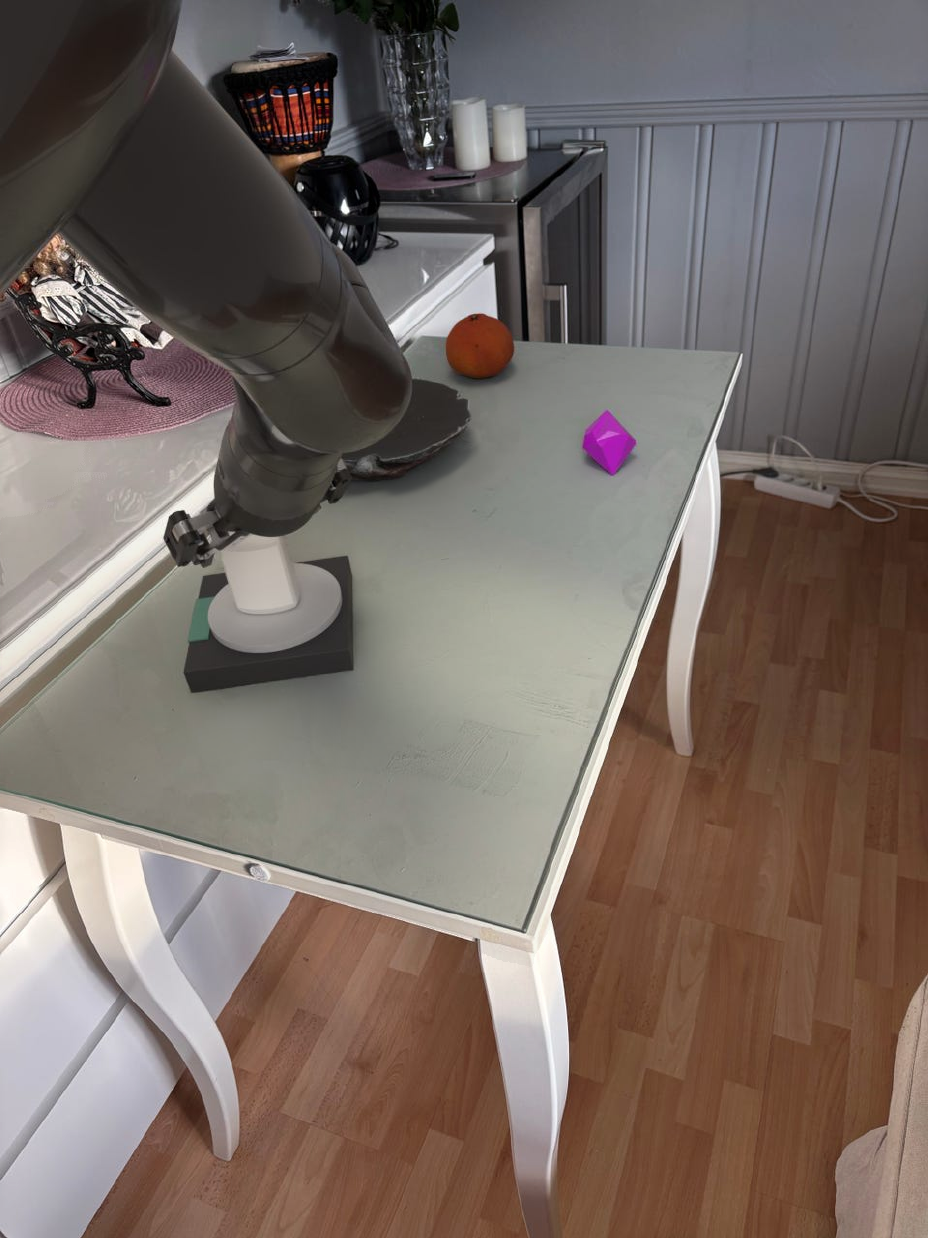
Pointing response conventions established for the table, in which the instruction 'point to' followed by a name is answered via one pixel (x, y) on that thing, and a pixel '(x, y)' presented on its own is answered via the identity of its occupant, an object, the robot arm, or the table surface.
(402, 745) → the table surface
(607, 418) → the crystal
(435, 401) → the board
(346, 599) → the scale
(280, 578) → the eye dropper bottle
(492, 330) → the fruit
